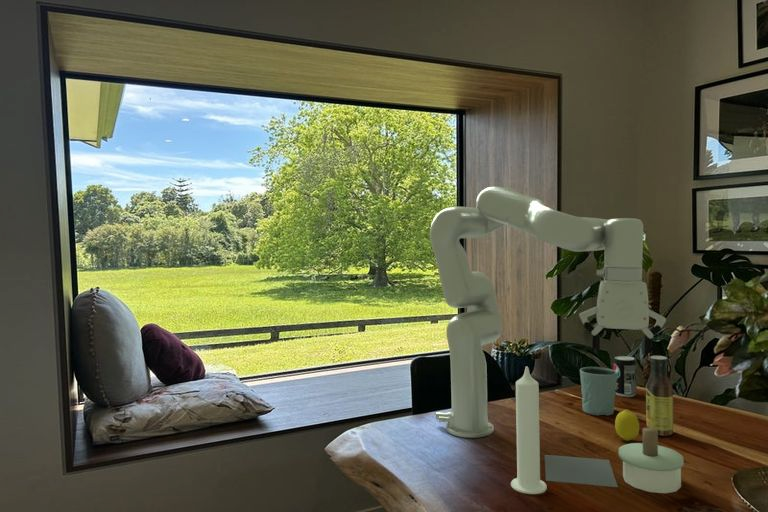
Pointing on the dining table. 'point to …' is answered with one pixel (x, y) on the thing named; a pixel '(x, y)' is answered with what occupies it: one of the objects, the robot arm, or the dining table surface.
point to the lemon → (627, 425)
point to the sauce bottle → (659, 397)
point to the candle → (528, 437)
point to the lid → (651, 454)
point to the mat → (579, 470)
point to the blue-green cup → (598, 390)
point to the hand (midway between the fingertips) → (620, 353)
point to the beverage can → (625, 376)
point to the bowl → (652, 479)
